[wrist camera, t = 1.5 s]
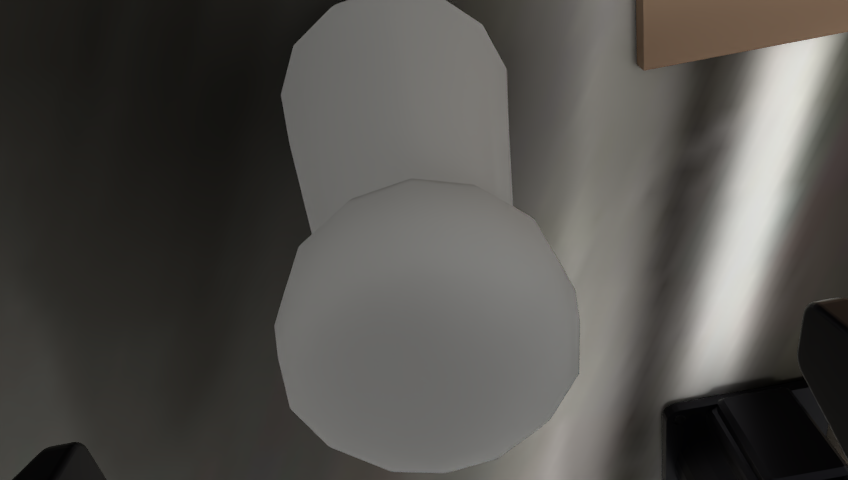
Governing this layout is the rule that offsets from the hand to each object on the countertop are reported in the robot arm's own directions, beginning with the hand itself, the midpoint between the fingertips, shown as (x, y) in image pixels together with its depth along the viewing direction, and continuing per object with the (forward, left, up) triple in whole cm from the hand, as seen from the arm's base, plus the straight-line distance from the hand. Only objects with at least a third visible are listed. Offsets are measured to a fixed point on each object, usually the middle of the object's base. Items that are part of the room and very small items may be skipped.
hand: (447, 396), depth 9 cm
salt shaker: (0, 0, -14) cm, 14 cm away
